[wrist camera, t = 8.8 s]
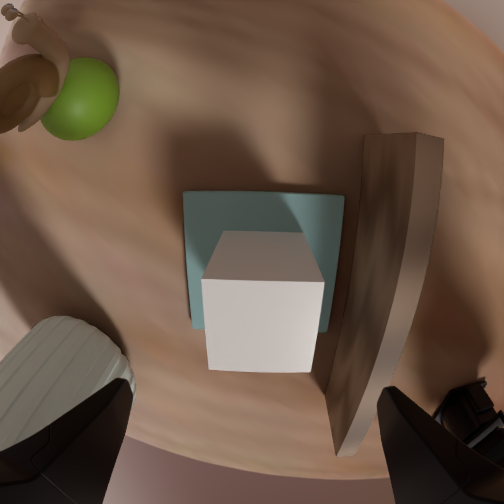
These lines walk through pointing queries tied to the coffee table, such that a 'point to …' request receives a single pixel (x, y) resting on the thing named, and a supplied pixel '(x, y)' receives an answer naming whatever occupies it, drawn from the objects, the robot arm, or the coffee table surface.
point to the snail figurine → (54, 84)
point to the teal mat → (261, 219)
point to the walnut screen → (383, 276)
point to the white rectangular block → (262, 302)
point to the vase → (55, 374)
